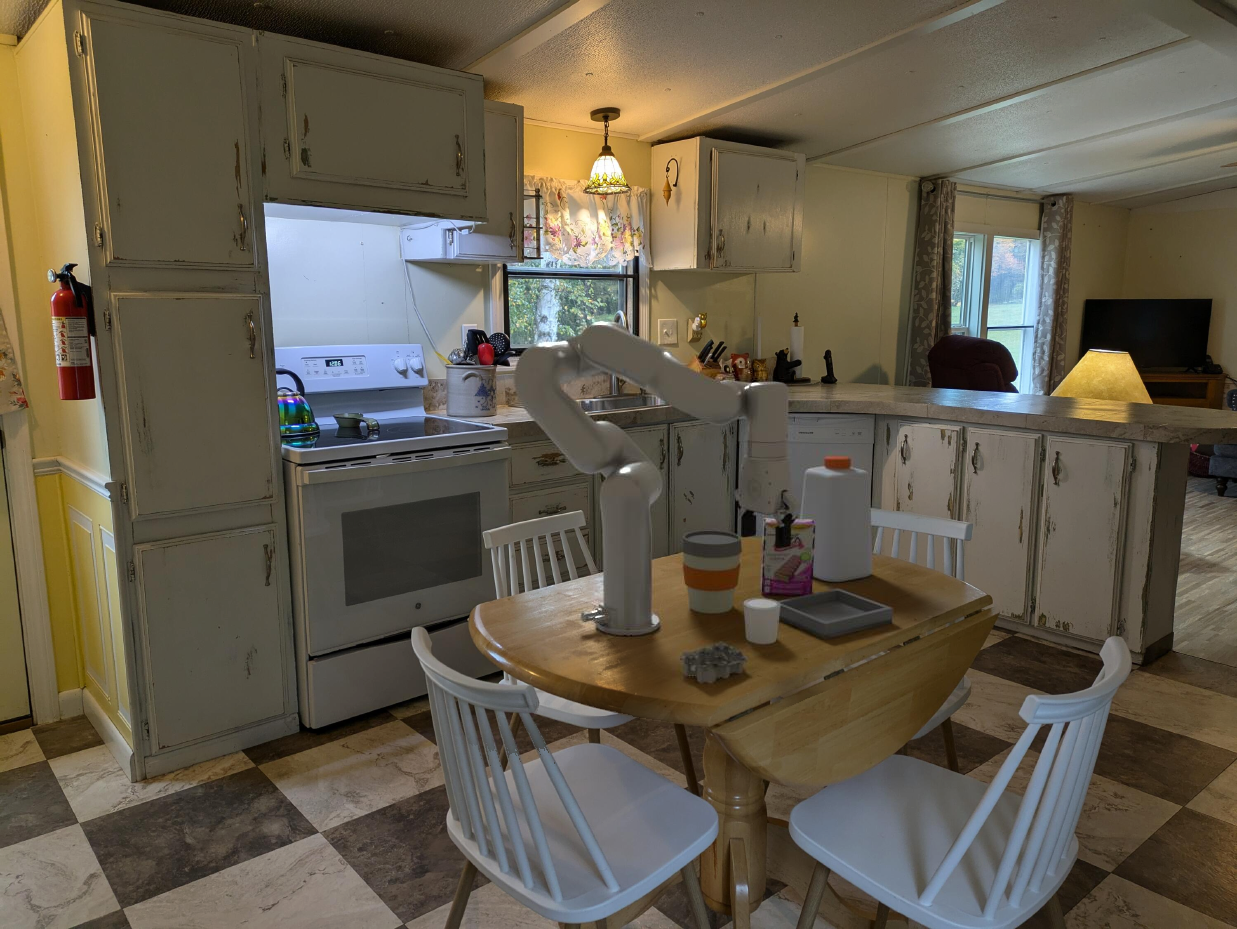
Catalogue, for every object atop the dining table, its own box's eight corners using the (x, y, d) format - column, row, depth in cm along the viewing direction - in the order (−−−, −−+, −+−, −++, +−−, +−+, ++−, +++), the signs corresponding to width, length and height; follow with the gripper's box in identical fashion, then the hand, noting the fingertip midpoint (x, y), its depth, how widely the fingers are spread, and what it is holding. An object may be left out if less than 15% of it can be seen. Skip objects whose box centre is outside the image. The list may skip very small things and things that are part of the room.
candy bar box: (761, 595, 185) (763, 522, 182) (760, 588, 190) (761, 517, 187) (813, 597, 184) (816, 523, 181) (810, 590, 189) (813, 518, 186)
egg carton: (704, 688, 138) (704, 664, 137) (675, 673, 144) (675, 650, 144) (751, 673, 144) (752, 650, 143) (722, 659, 150) (722, 637, 150)
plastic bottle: (787, 569, 205) (791, 455, 201) (835, 561, 212) (839, 451, 208) (830, 585, 192) (835, 464, 187) (879, 576, 199) (885, 459, 194)
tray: (824, 639, 159) (825, 624, 158) (772, 616, 171) (772, 602, 171) (892, 622, 168) (892, 608, 167) (837, 601, 180) (837, 588, 180)
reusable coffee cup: (750, 603, 180) (752, 534, 177) (724, 620, 169) (725, 547, 167) (698, 593, 186) (699, 527, 184) (669, 609, 176) (670, 539, 174)
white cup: (785, 636, 160) (786, 601, 159) (771, 648, 155) (772, 611, 153) (751, 629, 164) (752, 595, 163) (736, 640, 158) (737, 604, 157)
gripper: (721, 446, 159) (720, 535, 162) (782, 457, 144) (781, 554, 147) (752, 443, 163) (751, 530, 165) (815, 453, 148) (813, 548, 151)
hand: (765, 541), depth 156 cm, fingers open, 9 cm apart
